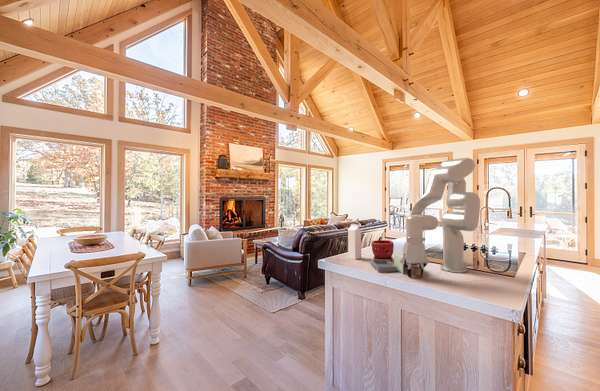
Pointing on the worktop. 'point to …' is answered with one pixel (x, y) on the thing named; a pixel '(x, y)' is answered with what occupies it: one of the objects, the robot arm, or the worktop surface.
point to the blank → (414, 271)
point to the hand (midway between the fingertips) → (414, 276)
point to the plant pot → (382, 249)
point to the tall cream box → (397, 262)
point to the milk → (354, 242)
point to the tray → (383, 266)
